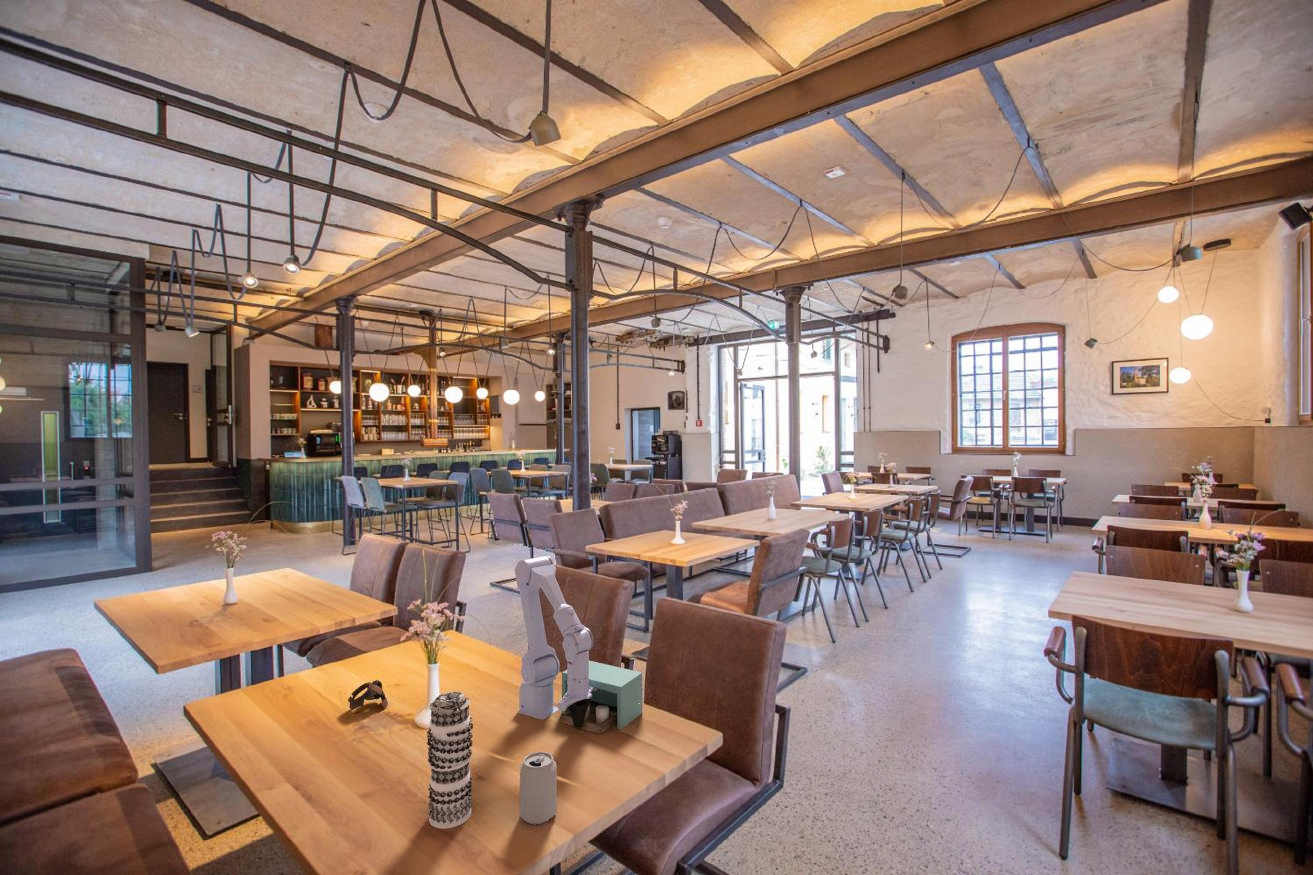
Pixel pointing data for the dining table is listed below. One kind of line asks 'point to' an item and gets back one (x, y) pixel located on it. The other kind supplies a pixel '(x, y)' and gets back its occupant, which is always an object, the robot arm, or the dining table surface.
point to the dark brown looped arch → (368, 695)
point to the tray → (592, 721)
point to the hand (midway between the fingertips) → (578, 726)
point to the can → (538, 788)
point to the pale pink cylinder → (602, 714)
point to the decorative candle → (450, 760)
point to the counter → (614, 690)
